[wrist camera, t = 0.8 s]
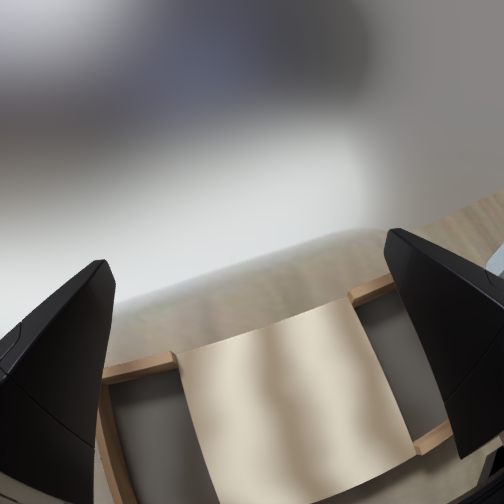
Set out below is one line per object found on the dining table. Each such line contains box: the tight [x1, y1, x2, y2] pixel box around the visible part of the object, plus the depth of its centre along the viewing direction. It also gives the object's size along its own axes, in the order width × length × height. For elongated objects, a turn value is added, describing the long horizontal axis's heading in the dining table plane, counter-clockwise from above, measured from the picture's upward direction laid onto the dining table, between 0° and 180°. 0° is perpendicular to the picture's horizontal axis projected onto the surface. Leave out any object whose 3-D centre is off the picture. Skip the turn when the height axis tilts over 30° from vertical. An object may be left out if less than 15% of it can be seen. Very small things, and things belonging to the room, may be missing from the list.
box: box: [96, 273, 453, 504], centre depth 18 cm, size 30×14×3 cm, turn 107°
